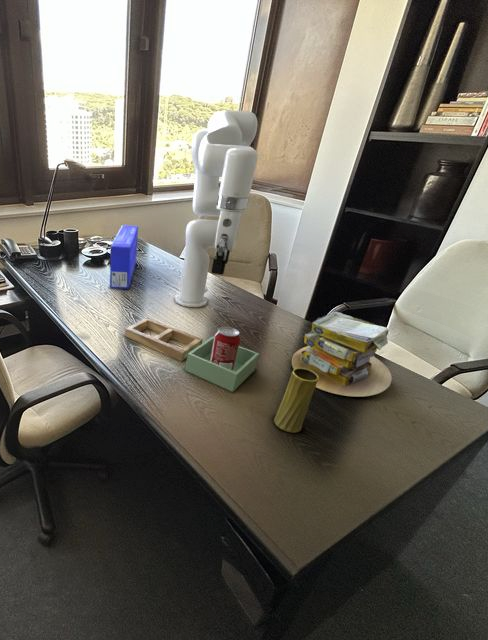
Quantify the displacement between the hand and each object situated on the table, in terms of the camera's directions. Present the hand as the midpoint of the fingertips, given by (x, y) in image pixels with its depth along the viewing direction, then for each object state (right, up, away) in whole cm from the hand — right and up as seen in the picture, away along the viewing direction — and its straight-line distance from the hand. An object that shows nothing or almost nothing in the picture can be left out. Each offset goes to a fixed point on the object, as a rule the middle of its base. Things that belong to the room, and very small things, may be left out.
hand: (219, 267), depth 104 cm
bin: (+1, -29, +3) cm, 29 cm away
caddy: (-14, -20, +16) cm, 29 cm away
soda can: (+1, -28, +3) cm, 28 cm away
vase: (+11, -41, -16) cm, 45 cm away
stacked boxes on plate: (+35, -30, +4) cm, 46 cm away
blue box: (-25, +12, +71) cm, 76 cm away
